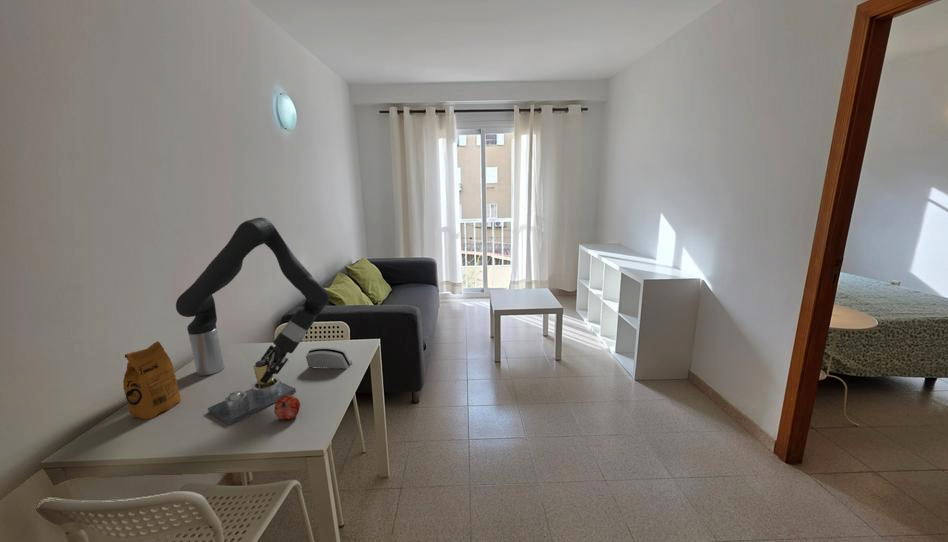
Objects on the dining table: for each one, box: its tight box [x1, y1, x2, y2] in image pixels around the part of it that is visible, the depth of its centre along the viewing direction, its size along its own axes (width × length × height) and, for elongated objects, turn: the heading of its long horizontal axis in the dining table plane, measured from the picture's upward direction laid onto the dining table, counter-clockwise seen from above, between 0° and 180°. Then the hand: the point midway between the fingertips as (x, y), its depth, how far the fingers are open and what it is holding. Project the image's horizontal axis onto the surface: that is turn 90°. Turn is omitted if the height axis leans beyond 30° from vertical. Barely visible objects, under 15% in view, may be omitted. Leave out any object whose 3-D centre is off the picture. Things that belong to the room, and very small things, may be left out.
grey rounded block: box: [305, 346, 353, 370], centre depth 154 cm, size 17×5×10 cm, turn 82°
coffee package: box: [122, 341, 181, 420], centre depth 127 cm, size 10×12×22 cm
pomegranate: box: [274, 394, 301, 420], centre depth 121 cm, size 7×7×10 cm
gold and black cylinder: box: [253, 359, 275, 388], centre depth 134 cm, size 5×5×11 cm
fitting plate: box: [207, 376, 297, 426], centre depth 131 cm, size 14×22×6 cm, turn 147°
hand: (260, 378), depth 133 cm, fingers open, 7 cm apart
